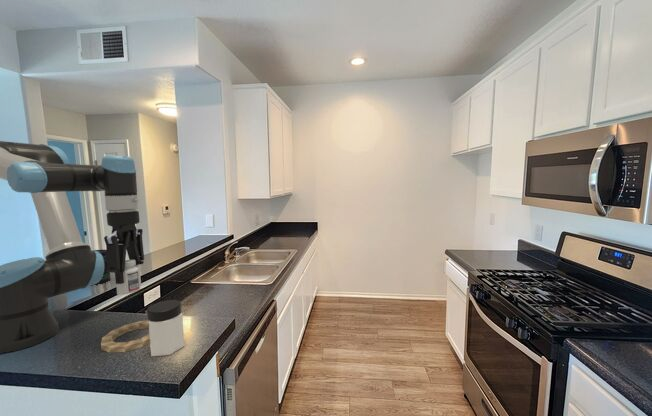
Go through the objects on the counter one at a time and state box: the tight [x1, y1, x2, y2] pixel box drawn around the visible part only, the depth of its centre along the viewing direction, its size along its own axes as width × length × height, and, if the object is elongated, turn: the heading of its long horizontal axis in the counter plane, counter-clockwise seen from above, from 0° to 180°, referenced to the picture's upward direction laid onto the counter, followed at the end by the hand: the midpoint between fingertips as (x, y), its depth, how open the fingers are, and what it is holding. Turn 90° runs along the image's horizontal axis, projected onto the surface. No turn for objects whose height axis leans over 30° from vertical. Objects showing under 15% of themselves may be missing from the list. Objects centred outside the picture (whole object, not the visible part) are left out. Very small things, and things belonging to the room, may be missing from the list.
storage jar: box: [90, 249, 111, 287], centre depth 134 cm, size 10×10×15 cm
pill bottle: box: [125, 259, 141, 294], centre depth 82 cm, size 5×5×9 cm
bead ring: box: [100, 320, 150, 354], centre depth 84 cm, size 15×15×2 cm
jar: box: [146, 299, 185, 357], centre depth 78 cm, size 9×8×12 cm
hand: (129, 289), depth 82 cm, fingers closed on pill bottle, 5 cm apart
